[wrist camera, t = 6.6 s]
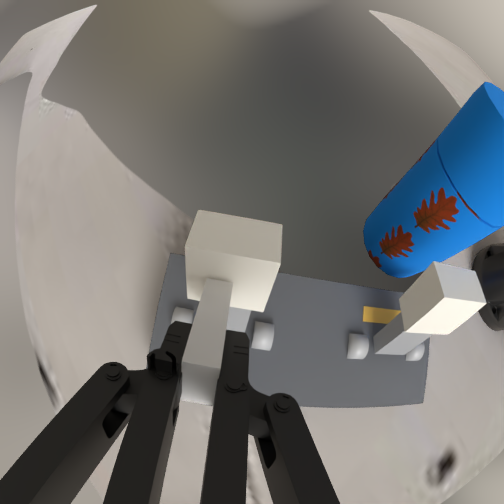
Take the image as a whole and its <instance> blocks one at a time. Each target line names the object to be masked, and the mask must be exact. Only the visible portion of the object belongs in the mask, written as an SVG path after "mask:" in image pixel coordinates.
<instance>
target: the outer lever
mask: <svg viewBox="0 0 504 504" xmlns="http://www.w3.org/2000/svg"><path fill="white" fill-rule="evenodd" d="M281 250H282V224H277V223H272V222H266V221H261V220H255V219H250V218H244V217H239V216H233V215H227V214H221V213H215V212H209V211H203V210H198V212H197V215H196V217H195V220H194V222H193V225H192V228H191V231H190V233H189V236H188V239H187V241H186V244H185V264H186V284H187V299H192V300H197V301H200V299H201V295H202V292H203V289H204V286H205V283H206V280H207V278H210V279H215V280H221V281H226V282H232V283H233V287H232V294H231V300H230V307H229V314H228V321H227V327H226V330H232V331H239V332H245V330H246V327H247V323H248V320H249V316H250V313H251V310H253V311H259V312H264V309H265V306H266V303H267V301H268V298H269V295H270V292H271V290H272V287H273V284H274V281H275V279H276V276H277V273H278V270H279V267H280V264H281Z"/></svg>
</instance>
